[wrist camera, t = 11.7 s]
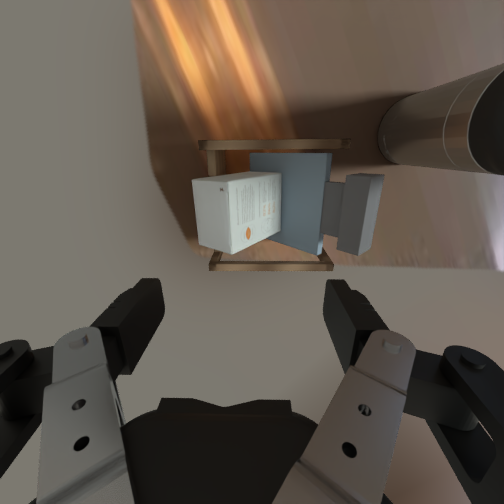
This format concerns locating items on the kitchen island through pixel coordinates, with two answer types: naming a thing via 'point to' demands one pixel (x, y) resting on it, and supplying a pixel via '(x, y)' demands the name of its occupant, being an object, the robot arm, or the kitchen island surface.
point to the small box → (237, 209)
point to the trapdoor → (321, 202)
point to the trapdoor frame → (219, 168)
